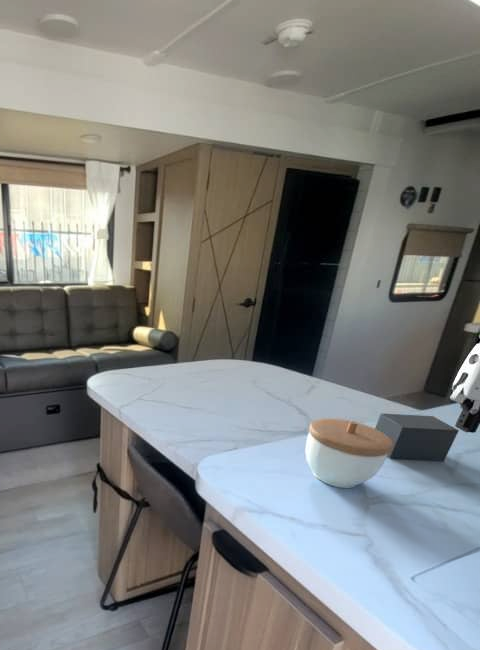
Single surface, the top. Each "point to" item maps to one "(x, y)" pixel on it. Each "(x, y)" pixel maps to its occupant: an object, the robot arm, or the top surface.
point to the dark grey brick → (417, 436)
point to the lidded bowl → (345, 451)
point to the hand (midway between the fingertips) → (464, 429)
